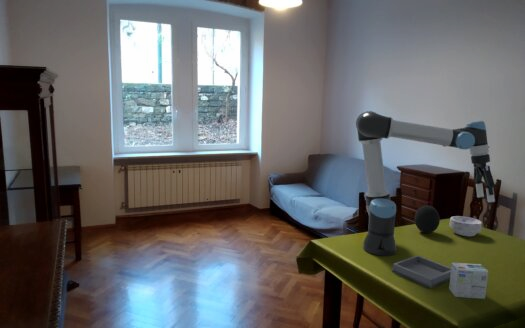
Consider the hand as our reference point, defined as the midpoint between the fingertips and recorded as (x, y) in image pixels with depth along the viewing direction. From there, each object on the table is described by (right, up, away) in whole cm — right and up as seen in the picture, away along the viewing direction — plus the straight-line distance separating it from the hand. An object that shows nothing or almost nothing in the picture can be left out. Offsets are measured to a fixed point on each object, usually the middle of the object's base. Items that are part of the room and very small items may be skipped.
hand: (485, 199), depth 182 cm
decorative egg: (-16, -21, +28) cm, 39 cm away
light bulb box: (-29, -31, -38) cm, 58 cm away
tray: (-39, -28, -24) cm, 54 cm away
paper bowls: (+4, -21, +28) cm, 36 cm away
